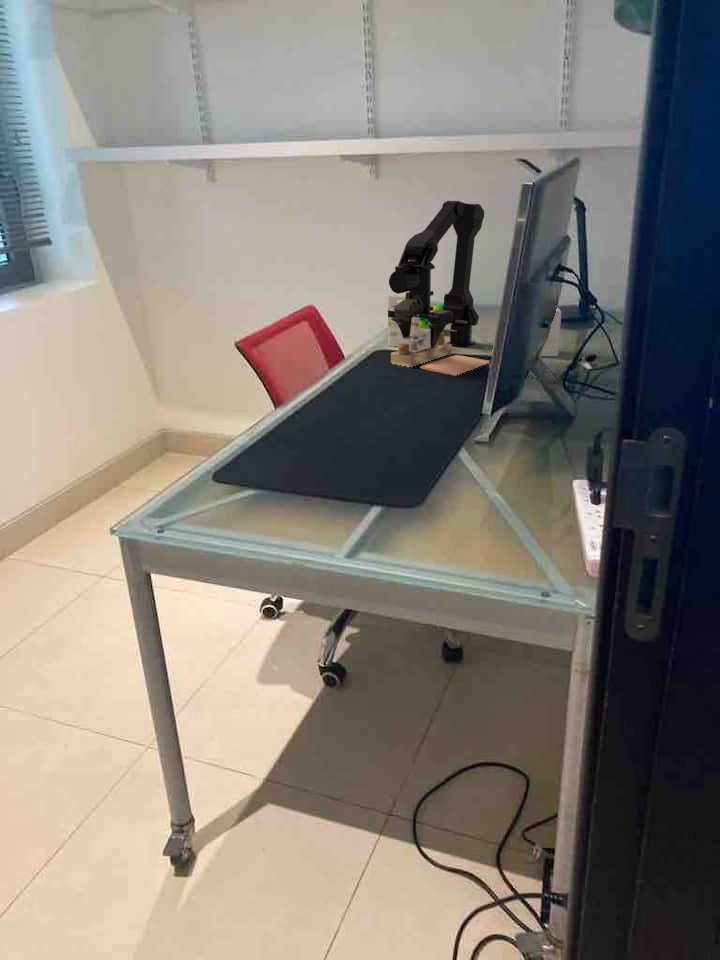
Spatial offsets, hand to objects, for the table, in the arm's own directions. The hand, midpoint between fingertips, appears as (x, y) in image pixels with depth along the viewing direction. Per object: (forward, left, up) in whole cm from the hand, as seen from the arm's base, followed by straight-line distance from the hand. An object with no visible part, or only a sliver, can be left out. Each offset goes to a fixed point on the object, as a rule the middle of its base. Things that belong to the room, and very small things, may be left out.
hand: (419, 345), depth 210 cm
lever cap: (0, 0, 0) cm, 0 cm away
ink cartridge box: (-11, -15, -4) cm, 19 cm away
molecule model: (-30, -20, -4) cm, 36 cm away
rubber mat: (-1, +12, -4) cm, 13 cm away
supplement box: (-27, +23, -4) cm, 36 cm away
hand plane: (-1, 0, -4) cm, 4 cm away
